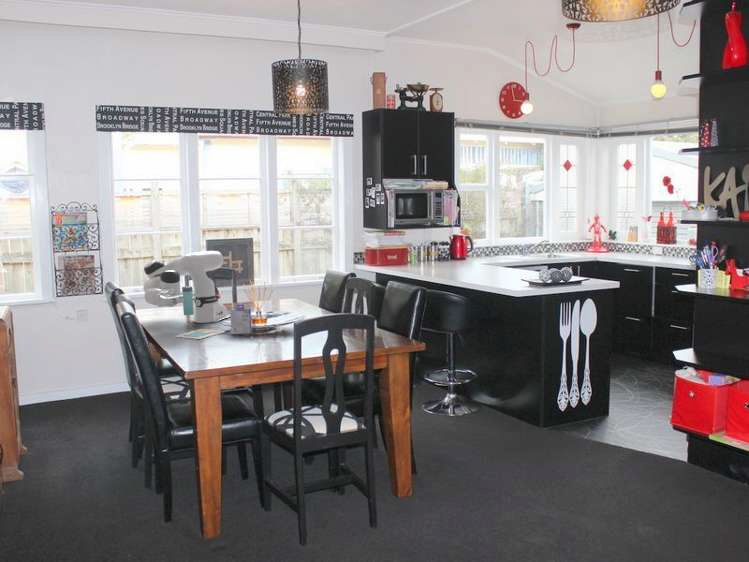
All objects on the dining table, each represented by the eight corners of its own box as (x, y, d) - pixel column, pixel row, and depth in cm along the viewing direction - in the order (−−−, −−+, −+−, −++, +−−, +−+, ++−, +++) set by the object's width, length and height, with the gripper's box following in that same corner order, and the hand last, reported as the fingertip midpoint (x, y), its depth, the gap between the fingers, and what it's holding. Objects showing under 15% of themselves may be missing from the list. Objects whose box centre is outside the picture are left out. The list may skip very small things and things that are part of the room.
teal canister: (188, 313, 371) (187, 286, 369) (196, 313, 368) (194, 286, 366) (181, 314, 367) (179, 287, 365) (188, 315, 364) (187, 288, 362)
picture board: (200, 330, 383) (200, 328, 383) (225, 332, 374) (225, 330, 374) (174, 337, 366) (174, 336, 366) (199, 339, 358) (199, 338, 358)
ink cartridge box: (252, 331, 374) (250, 303, 372) (250, 333, 368) (248, 305, 366) (233, 332, 374) (231, 304, 372) (231, 334, 368) (229, 306, 366)
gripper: (184, 300, 382) (204, 302, 375) (155, 307, 365) (174, 309, 358) (184, 288, 381) (203, 290, 374) (154, 294, 364) (174, 296, 357)
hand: (189, 299), depth 366 cm, fingers closed on teal canister, 5 cm apart
